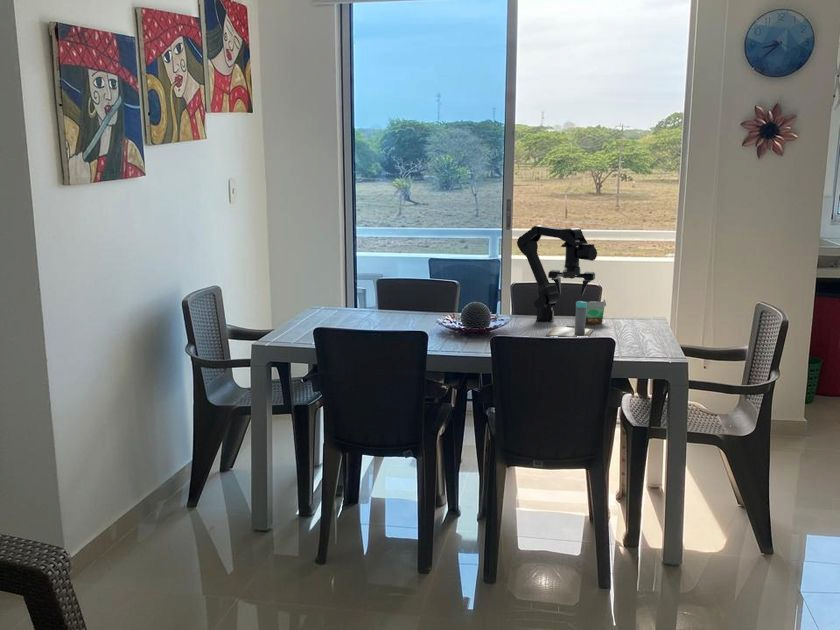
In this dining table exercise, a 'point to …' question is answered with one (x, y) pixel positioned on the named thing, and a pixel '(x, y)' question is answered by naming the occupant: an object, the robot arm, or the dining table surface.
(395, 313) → the dining table surface
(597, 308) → the food container
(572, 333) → the clipboard
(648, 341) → the dining table surface
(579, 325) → the marker
